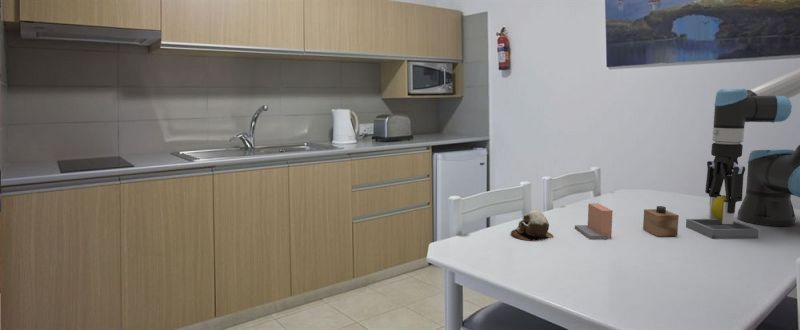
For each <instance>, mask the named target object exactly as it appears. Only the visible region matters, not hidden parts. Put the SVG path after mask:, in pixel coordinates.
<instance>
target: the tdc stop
mask: <svg viewBox="0 0 800 330" xmlns="http://www.w3.org/2000/svg"><path fill="white" fill-rule="evenodd" d="M587 207H588V209H587V210H588V211H587V224H584V225H583V224H582V225H579V224H578V225H577V224H575V225H574V229H575V230H577V232H579V233H580V234H581V235H583V236H584V237H586V238H588V240H608V239H612V229H613V228H612V227H613V210H612V209H610V208H609V207H606V206H604V205H603V204H600V203H598V202H597V203H595V202H594V203H588V206H587Z"/></svg>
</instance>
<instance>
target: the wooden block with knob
mask: <svg viewBox="0 0 800 330" xmlns="http://www.w3.org/2000/svg"><path fill="white" fill-rule="evenodd" d="M679 217H680V216H679V215H678V214H676V213H674V212H672V211H669V210H667V207H666V206H663V205H662V206H661V205H658V206H656V209H653V208H651V209H645V208H644V209H643V223H642V229H643V230H644V231H646V232H648V233H650V234H652V235H654V236H656V237H677V236H678V231H679Z"/></svg>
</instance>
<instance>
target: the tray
mask: <svg viewBox="0 0 800 330" xmlns="http://www.w3.org/2000/svg"><path fill="white" fill-rule="evenodd" d="M685 221H686V222H685V227H686V228H687V229H690V230H691V231H694V232H697V233H699V234H700V235H703V236H705V237H706V238H707V237H708V238H710V239H713V240H715V239H716V240H717V239H758V238H759V229H758V228H755V227H753V226H751V225H747V224H746V223H745V224H744V223H741V222H739V221H736V220H734V221H733V224H722V222H720V220H719V219H709V218H686V219H685Z"/></svg>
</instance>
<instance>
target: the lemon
mask: <svg viewBox="0 0 800 330" xmlns="http://www.w3.org/2000/svg"><path fill="white" fill-rule="evenodd" d="M724 200H726V194H724V195H722V196H721V197H718V198H716V199H715V200H714V202H713V204H712V213H713V215H714V217H715V218H717V219H719V220H720V222H722V220H723V208H724Z"/></svg>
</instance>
